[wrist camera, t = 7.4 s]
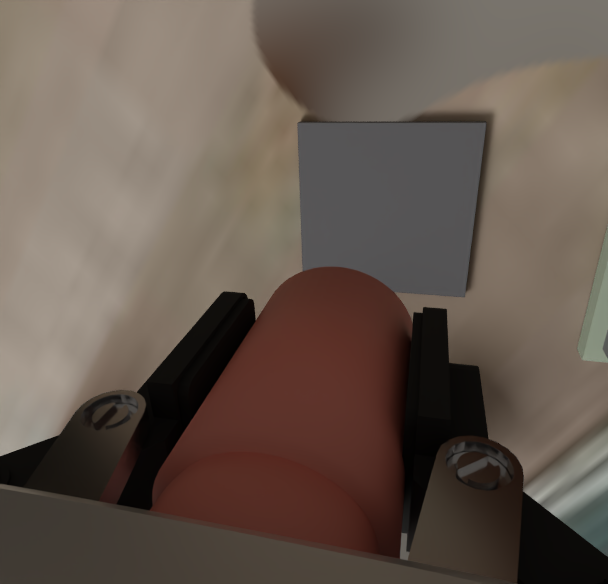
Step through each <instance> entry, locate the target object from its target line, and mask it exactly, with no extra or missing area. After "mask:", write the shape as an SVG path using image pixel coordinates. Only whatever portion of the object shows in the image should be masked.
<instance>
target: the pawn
mask: <svg viewBox="0 0 608 584" xmlns="http://www.w3.org/2000/svg"><path fill="white" fill-rule="evenodd" d="M412 327H413V324H412V321H411V318H410V315H409V313H408V311H407V309H406V308H405V306H404V304H403V303H402V301H401V300H400V299H399V298H398V297H397V295H396V294H395V293H394V292H393V291H392V290H391V289H389V288H388V287H387V286H386V285H385V284H383V283H382V282H380V281H379V280H377V279H375V278H374V277H372V276H370V275H368V274H365V273H363V272H360V271H357V270H353V269H349V268H344V267H318V268H313V269H309V270H305V271H303V272H300V273H298V274H296V275H294V276H292V277H291V278H289V279H288V280H286V281H285V282H284V283H283V284H281V285H280V286H279V288H278V289H277V290H276V291H275V292H274V294H273V295H272V297H271V298H270V300H269V301H268V303H267V304H266V306H265V307H264V309H263V310H262V312H261V313H260V315H259V317H258V318H257V320H256V321H255V323H254V324H253V326H252V327H251V329H250V331H249V332H248V334H247V335H246V337H245V338H244V340H243V341H242V343H241V344H240V346H239V348H238V349H237V351H236V352H235V354H234V355H233V357H232V358H231V360H230V361H229V363H228V365H227V366H226V368H225V369H224V371H223V372H222V374H221V375H220V377H219V378H218V380H217V382H216V383H215V385H214V386H213V388H212V389H211V391H210V392H209V394H208V395H207V397H206V399H205V400H204V402H203V403H202V405H201V406H200V408H199V409H198V411H197V412H196V414H195V416H194V417H193V419H192V420H191V422H190V423H189V425H188V426H187V428H186V429H185V431H184V433H183V434H182V436H181V437H180V439H179V440H178V442H177V443H176V445H175V447H174V448H173V450H172V451H171V453H170V454H169V456H168V457H167V459H166V460H165V462H164V464H163V465H162V467H161V468H160V470H159V472H158V474H157V476H156V478H155V481H154V486H153V491H152V503H153V506H152V508H151V509H150V511H154V512H160V513H165V514H170V515H175V516H181V517H186V518H191V519H197V520H202V521H207V522H213V523H218V524H223V525H228V526H234V527H239V528H244V529H249V530H255V531H260V532H265V533H270V534H276V535H281V536H286V537H291V538H296V539H301V540H306V541H312V542H317V543H322V544H327V545H332V546H337V547H342V548H347V549H352V550H358V551H363V552H368V553H373V554H378V555H383V556H388V557H393V558H399V559H400V548H401V534H402V520H403V505H404V491H405V467H404V462H403V457H402V452H403V438H404V425H405V412H406V400H407V387H408V375H409V363H410V351H411V339H412Z"/></svg>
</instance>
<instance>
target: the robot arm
mask: <svg viewBox="0 0 608 584" xmlns="http://www.w3.org/2000/svg"><path fill="white" fill-rule="evenodd" d="M255 321H256V319H255V307H254V302H253V300H252V299H248V298H247V295H246V294H245V293H237V292H223V293H221V295H220V296H219V297H218V298H217V299H216V300H215V302H214V303H213V304H212V305H211V306H210V307H209V309H208V310H207V311H206V312H205V313H204V314H203V316H202V317H201V318H200V319H199V320H198V321H197V323H196V324H195V325H194V326H193V327H192V329H191V330H190V331H189V332H188V333H187V334H186V336H185V337H184V338H183V339H182V340H181V341H180V342H179V344H178V345H177V346H176V347H175V348H174V349H173V351H172V352H171V353H170V354H169V355H168V356H167V358H166V359H165V360H164V361H163V362H162V363H161V365H160V366H159V367H158V368H157V369H156V370H155V372H154V373H153V374H152V375H151V376H150V377H149V379H148V380H147V381H146V382H145V383H144V384H143V386H142V387H141V388H140V389H139V390H138V391H137V393H136V392H134V391H128V390H116V391H110V392H106V393H102V394H100V395H98V396H95V397H93V398H91V399H90V400H88V401H87V402H85V403H84V404H82V405H81V406H80V407H79V409H78V410H77V411H76V412H75V413H74V415H73V416H72V418H71V419H70V421H69V422H68V423H67V425H66V426H65V428H64V429H63V431H62V432H61V433H60V435H58V436H55V437H53V438H50V439H47V440H44V441H42V442H39V443H36V444H33V445H31V446H28V447H25V448H22V449H19V450H17V451H14V452H11V453H8V454H6V455H3V456H0V584H608V557H607V556H606V555H604V554H603V553H602V552H600V551H599V550H598V549H597V548H595V547H594V546H593V545H591V544H590V543H589V542H588V541H586V540H585V539H584V538H582V537H581V536H580V535H579V534H577V533H576V532H575V531H573V530H572V529H571V528H570V527H568V526H567V525H566V524H564V523H563V522H562V521H560V520H559V519H558V518H557V517H555V516H554V515H553V514H551V513H550V512H549V511H548V510H546V509H545V508H544V507H542V506H541V505H540V504H539V503H537V502H536V501H535V500H533V499H532V498H531V497H530V496H528V495H527V494H526V493H524V492H523V482H524V475H523V469H522V466H521V464H520V462H519V461H518V459H517V457H516V456H515V455H514V454H513V453H512V452H511V451H509V450H508V449H507V448H506V447H504V446H502V445H501V444H499V443H497V442H495V441H492V440H490V439H488V432H487V424H486V417H485V409H484V402H483V394H482V387H481V379H480V371H479V367H478V366H472V365H462V364H453V363H449V353H448V329H447V309H440V308H427V307H423V313H416V312H414V315H413V327H412V339H411V351H410V363H409V375H408V387H407V400H406V412H405V425H404V438H403V452H402V457H403V462H404V467H405V491H404V505H403V520H402V533H405V534H407V546H406V552H410V553H409V556H408V560H404V559H399V558H393V557H388V556H383V555H378V554H373V553H368V552H363V551H358V550H352V549H347V548H342V547H337V546H332V545H327V544H322V543H317V542H312V541H306V540H301V539H296V538H291V537H286V536H281V535H276V534H270V533H265V532H260V531H255V530H249V529H244V528H239V527H234V526H228V525H223V524H218V523H213V522H207V521H202V520H197V519H191V518H186V517H181V516H175V515H170V514H165V513H160V512H154V511H150V509H151V508H152V506H153V503H152V491H153V486H154V481H155V478H156V476H157V474H158V472H159V470H160V468H161V467H162V465H163V464H164V462H165V460H166V459H167V457H168V456H169V454H170V453H171V451H172V450H173V448H174V447H175V445H176V443H177V442H178V440H179V439H180V437H181V436H182V434H183V433H184V431H185V429H186V428H187V426H188V425H189V423H190V422H191V420H192V419H193V417H194V416H195V414H196V412H197V411H198V409H199V408H200V406H201V405H202V403H203V402H204V400H205V399H206V397H207V395H208V394H209V392H210V391H211V389H212V388H213V386H214V385H215V383H216V382H217V380H218V378H219V377H220V375H221V374H222V372H223V371H224V369H225V368H226V366H227V365H228V363H229V361H230V360H231V358H232V357H233V355H234V354H235V352H236V351H237V349H238V348H239V346H240V344H241V343H242V341H243V340H244V338H245V337H246V335H247V334H248V332H249V331H250V329H251V327H252V326H253V324H254V323H255Z"/></svg>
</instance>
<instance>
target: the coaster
mask: <svg viewBox="0 0 608 584" xmlns="http://www.w3.org/2000/svg"><path fill="white" fill-rule="evenodd" d="M485 130H486V122H298V150H299V179H300V208H301V237H302V265H303V271H305V270H309V269H313V268H318V267H344V268H349V269H353V270H357V271H360V272H363V273H365V274H368V275H370V276H372V277H374V278H375V279H377V280H379V281H380V282H382V283H383V284H385V285H386V286H387V287H388V288H389V289H391V290H392V291H393V292H402V293H415V294H428V295H441V296H454V297H465V291H466V283H467V275H468V267H469V259H470V251H471V243H472V235H473V227H474V218H475V210H476V202H477V194H478V186H479V178H480V170H481V162H482V154H483V146H484V138H485Z"/></svg>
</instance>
